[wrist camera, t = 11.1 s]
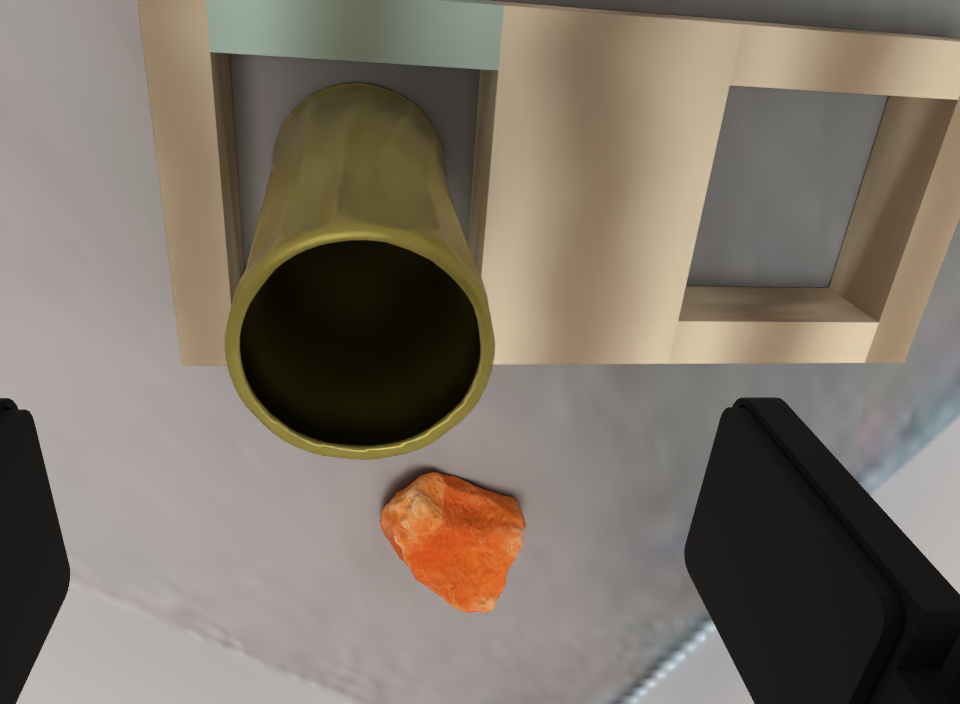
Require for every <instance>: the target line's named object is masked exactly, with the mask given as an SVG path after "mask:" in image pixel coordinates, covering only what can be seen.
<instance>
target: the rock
mask: <svg viewBox="0 0 960 704" xmlns="http://www.w3.org/2000/svg"><path fill="white" fill-rule="evenodd" d="M380 524H381V527H382V529H383V532H384V534H385V536H386V537H387V538H388V539H389V541H390V542H391V545H392V546H394V549H395V551H396V552H397V554H398V555H399V558H400V559H402V560H403V561H404V562H405V563H406V565H407V566H408V567H409V568H410V569H411V571H412V573H413V574H414V576H415V579H416V580H417V581H419V582H421V583H422V584H424V585H426V586H428V587H429V588H430V589H432V590H433V591H434V592H435V593H437V594H438V595H439V596H440V597H442V598H444V599H445V600H446V601H447V602H448V604H449V605H451V606H452V607H454V608H456V609H458V610H461V611H463V612H468V613H471V612H476V611H479V612H481V613H482V612H489V611H492V610H493V609H494V608H495V606H496V601H497V599H498V597H499V595H500V594H501V592H502V591H503V589H504V587H505V582H506V575H507V573H508V569H509V567H510V566H511V564H512V562H513V561H514V559H515V558H516V557H517V555H518V553H519V552H520V549H521V547H522V546H523V533H524V529H525V527H526V523H525V519H524V517H523V514H522V511H521V509H520V507H519V505H518V503H517V502H516V501H515V500H514V499H513V497H508V496H504V495H500V494H498V493H494V492H491V491H489V490H484V489H482V488H480V487H477V486H473V485H472V484H471V483H469V482H467V481H463V480H462V479H460V478H458V477H455V476H453V475H451V476H446V475H443V474H440V473H436V472H431V473H428V474H425V475H421V476H419V477H418V478H417V479H416V480H415V481H414V482H412V483H411V484H410V485H409V486H408V487H407V488H406V489H403V490H401V491H398V492H397V493H396V494H395V497H394V498H392V499H391V500H390V502H389V503H388V504H387V505H386V506H385V507H384V508H383V510H382V512H381V520H380Z"/></svg>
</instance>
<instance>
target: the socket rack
mask: <svg viewBox="0 0 960 704" xmlns="http://www.w3.org/2000/svg"><path fill="white" fill-rule="evenodd" d="M138 9H139V17H140V25H141V33H142V42H143V50H144V58H145V66H146V75H147V83H148V91H149V100H150V108H151V116H152V124H153V133H154V141H155V149H156V157H157V166H158V174H159V182H160V190H161V199H162V207H163V215H164V223H165V232H166V240H167V248H168V257H169V265H170V273H171V281H172V290H173V298H174V306H175V314H176V323H177V331H178V339H179V347H180V356H181V364H182V366H227V362H226V358H225V349H224V336H225V330H226V324H227V320H228V316H229V312H230V308H231V305H232V301H233V297H234V294H235V291H236V289H237V286H238V284H239V281H240V279H241V277H242V275H243V274H244V272H245V268H244V254H243V241H242V227H241V213H240V199H239V185H238V171H237V158H236V144H235V130H234V116H233V102H232V88H231V75H230V61H229V53H232V54H248V55H263V56H279V57H295V58H310V59H326V60H342V61H357V62H373V63H389V64H404V65H420V66H436V67H451V68H467V69H480V78H479V92H478V106H477V120H476V134H475V147H474V161H473V175H472V189H471V203H470V217H469V230H468V244H467V245H468V247H469V250H470V252H471V255H472V257H473V260H474V263H475V265H476V267H477V270H478V272H479V274H480V276H481V278H482V281H483V284H484V287H485V290H486V294H487V298H488V304H489V310H490V315H491V320H492V326H493V332H494V338H495V355H494V361H493V365H496V364H714V363H904V362H905V359H906V357H907V354H908V351H909V349H910V346H911V344H912V341H913V338H914V336H915V333H916V331H917V328H918V325H919V323H920V320H921V317H922V315H923V312H924V310H925V307H926V304H927V302H928V299H929V297H930V294H931V291H932V289H933V286H934V283H935V281H936V278H937V276H938V273H939V270H940V268H941V265H942V263H943V260H944V257H945V255H946V252H947V250H948V247H949V244H950V242H951V239H952V236H953V234H954V231H955V229H956V226H957V223H958V221H959V218H960V39H959V38H951V37H939V36H927V35H914V34H902V33H889V32H877V31H864V30H852V29H839V28H827V27H814V26H802V25H789V24H777V23H764V22H752V21H739V20H727V19H714V18H702V17H689V16H677V15H664V14H652V13H639V12H627V11H614V10H602V9H589V8H577V7H564V6H552V5H539V4H527V3H514V2H502V1H489V0H138ZM730 85H733V86H749V87H764V88H780V89H795V90H811V91H827V92H842V93H858V94H874V95H889V98H888V101H887V105H886V108H885V111H884V114H883V117H882V120H881V124H880V127H879V130H878V133H877V136H876V140H875V143H874V146H873V149H872V152H871V156H870V159H869V162H868V165H867V168H866V171H865V175H864V178H863V181H862V184H861V187H860V191H859V194H858V197H857V200H856V203H855V207H854V210H853V213H852V216H851V219H850V222H849V226H848V229H847V232H846V235H845V238H844V242H843V245H842V248H841V251H840V254H839V258H838V261H837V264H836V267H835V270H834V273H833V277H832V280H831V283H830V286H829V288H783V287H713V286H686V283H687V278H688V274H689V269H690V265H691V260H692V256H693V251H694V246H695V242H696V237H697V233H698V228H699V224H700V219H701V214H702V210H703V205H704V201H705V196H706V192H707V187H708V182H709V178H710V173H711V169H712V164H713V160H714V155H715V150H716V146H717V141H718V137H719V132H720V128H721V123H722V118H723V114H724V109H725V105H726V100H727V96H728V91H729V86H730Z"/></svg>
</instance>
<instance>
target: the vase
mask: <svg viewBox="0 0 960 704" xmlns="http://www.w3.org/2000/svg"><path fill="white" fill-rule="evenodd" d="M224 349H225V358H226V362H227V366H228V370H229V374H230V376H231V379H232V382H233V385H234V387H235V389H236V391H237V393H238V395H239V397H240V398H241V400H242V401H243V403H244V404H245V406H246V407H247V408H248V409H249V410H250V411H251V412H252V413H253V414H254V415H255V416H256V417H257V418H258V419H259V421H260V422H261V423H262V424H263V425H265V426H266V427H267V428H268V429H269V430H270V431H271V432H272V433H274V434H275V435H276V436H278V437H279V438H281V439H282V440H283V441H285V442H287V443H289V444H292V445H294V446H296V447H298V448H301V449H303V450H306V451H308V452H311V453H315V454H319V455H323V456H330V457H338V458H348V459H363V460H370V459H382V458H387V457H392V456H397V455H402V454H406V453H409V452H412V451H415V450H418V449H421V448H423V447H425V446H427V445H429V444H431V443H432V442H434V441H435V440H437V439H439V438H440V437H441V436H442V435H444V434H445V433H446V432H448V431H449V430H450V429H452V428H453V427H454V426H455V425H457V424H458V423H459V422H460V421H462V420H463V419H464V418H465V417H466V416H467V415H468V414H469V413H470V412H471V411H472V409H473V408H474V407H475V405H476V404H477V402H478V401H479V399H480V397H481V395H482V393H483V391H484V389H485V387H486V385H487V382H488V379H489V376H490V374H491V370H492V365H493V361H494V355H495V338H494V332H493V326H492V320H491V315H490V310H489V304H488V298H487V294H486V290H485V287H484V284H483V281H482V278H481V276H480V274H479V272H478V270H477V267H476V265H475V263H474V260H473V257H472V255H471V252H470V250H469V247H468V245H467V242H466V240H465V237H464V235H463V232H462V229H461V227H460V224H459V221H458V219H457V216H456V214H455V211H454V208H453V204H452V200H451V196H450V193H449V190H448V186H447V183H446V168H445V160H444V155H443V150H442V146H441V142H440V139H439V137H438V135H437V133H436V131H435V130H434V128H433V126H432V125H431V123H430V122H429V120H428V119H427V118H426V117H425V115H424V114H423V113H422V112H421V111H420V109H419V108H418V107H417V106H415V105H414V104H413V103H412V102H411V101H409V100H408V99H406V98H405V97H403V96H401V95H399V94H397V93H395V92H393V91H390V90H388V89H385V88H381V87H378V86H374V85H370V84H364V83H349V84H341V85H337V86H332V87H329V88H326V89H323V90H320V91H318V92H316V93H314V94H312V95H311V96H309V97H308V98H306V99H305V100H304V101H303V102H301V103H300V104H299V105H298V106H297V107H296V108H295V109H294V110H293V112H292V113H291V114H290V115H289V116H288V118H287V119H286V121H285V122H284V124H283V126H282V128H281V129H280V131H279V134H278V137H277V140H276V144H275V148H274V152H273V170H272V172H271V174H270V177H269V181H268V186H267V191H266V195H265V198H264V202H263V205H262V209H261V212H260V216H259V220H258V223H257V227H256V231H255V235H254V239H253V243H252V247H251V250H250V254H249V258H248V261H247V265H246V269H245V272H244V274H243V275H242V277H241V279H240V281H239V284H238V286H237V289H236V291H235V294H234V297H233V301H232V305H231V308H230V312H229V316H228V320H227V324H226V330H225V336H224Z"/></svg>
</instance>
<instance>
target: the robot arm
mask: <svg viewBox="0 0 960 704" xmlns="http://www.w3.org/2000/svg"><path fill="white" fill-rule="evenodd" d="M684 556H685V564H686V568H687V570H688V573H689V575H690V577H691V579H692V581H693V583H694V585H695V587H696V589H697V591H698V593H699V595H700V597H701V599H702V601H703V602H704V604H705V606H706V608H707V610H708V612H709V614H710V616H711V618H712V620H713V622H714V624H715V626H716V628H717V630H718V632H719V634H720V636H721V638H722V640H723V642H724V644H725V646H726V648H727V650H728V652H729V654H730V656H731V658H732V660H733V661H734V664H735V666H736V668H737V670H738V672H739V674H740V676H741V677H742V680H743V681H744V683H745V685H746V687H747V689H748V691H749V693H750V695H751V697H752V699H753V701H754V703H755V704H960V594H959V593H958V592H957V591H956V590H955V589H954V588H953V587H952V586H951V585H950V583H949V582H948V581H947V580H946V579H945V578H944V577H943V576H942V575H941V573H940V572H939V571H938V570H937V569H936V568H935V567H934V566H933V565H932V564H931V563H930V561H929V560H928V559H927V558H926V557H925V556H924V555H923V554H922V553H921V551H920V550H919V549H918V548H917V547H916V546H915V545H914V544H913V543H912V541H911V540H910V539H909V538H908V537H907V536H906V535H905V534H904V533H903V532H902V530H901V529H900V528H899V527H898V526H897V525H896V524H895V523H894V522H893V521H892V519H891V518H890V517H889V516H888V515H887V514H886V513H885V512H884V511H883V510H882V509H881V507H880V506H879V505H878V504H877V503H876V502H875V501H874V500H873V498H872V497H871V496H870V495H869V494H868V493H867V492H866V491H865V490H864V489H863V487H862V486H861V485H860V484H859V483H858V482H857V481H856V480H855V479H854V478H853V476H852V475H851V474H850V473H849V472H848V471H847V470H846V469H845V468H844V466H843V465H842V464H841V463H840V462H839V461H838V460H837V459H836V458H835V457H834V455H833V454H832V453H831V452H830V451H829V450H828V449H827V448H826V447H825V446H824V444H823V443H822V442H821V441H820V440H819V439H818V438H817V437H816V436H815V434H814V433H813V432H812V431H811V430H810V429H809V428H808V427H807V426H806V425H805V423H804V422H803V421H802V420H801V419H800V418H799V417H798V416H797V415H796V414H795V412H794V411H793V410H792V409H791V408H790V407H789V406H788V405H787V404H786V403H785V402H784V401H783V400H782V399H780V398H740V399H737V400H736V402H735V403H734V404H733V407H729V408H726V409H725V410H724V411H723V413H722V415H721V418H720V422H719V425H718V429H717V433H716V436H715V440H714V443H713V447H712V451H711V454H710V458H709V461H708V465H707V469H706V472H705V476H704V479H703V483H702V487H701V490H700V494H699V497H698V501H697V505H696V508H695V512H694V515H693V519H692V523H691V526H690V530H689V533H688V537H687V541H686V544H685V552H684ZM69 581H70V567H69V562H68V558H67V554H66V550H65V546H64V542H63V538H62V533H61V529H60V525H59V521H58V517H57V513H56V509H55V505H54V501H53V497H52V493H51V489H50V484H49V480H48V476H47V472H46V468H45V464H44V460H43V456H42V452H41V448H40V444H39V440H38V435H37V431H36V427H35V423H34V420H33V417H32V415H31V413H30V412H29V411H27V410H18V407H17V405H16V404H15V403H14V401H13V400H11V399H9V398H0V704H16V702H17V700H18V697H19V695H20V693H21V691H22V689H23V687H24V684H25V682H26V680H27V678H28V676H29V674H30V672H31V669H32V667H33V665H34V663H35V661H36V659H37V657H38V655H39V652H40V650H41V648H42V646H43V644H44V641H45V640H46V637H47V635H48V633H49V631H50V629H51V627H52V624H53V623H54V620H55V618H56V616H57V614H58V612H59V610H60V607H61V605H62V603H63V601H64V599H65V597H66V594H67V591H68V587H69Z"/></svg>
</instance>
